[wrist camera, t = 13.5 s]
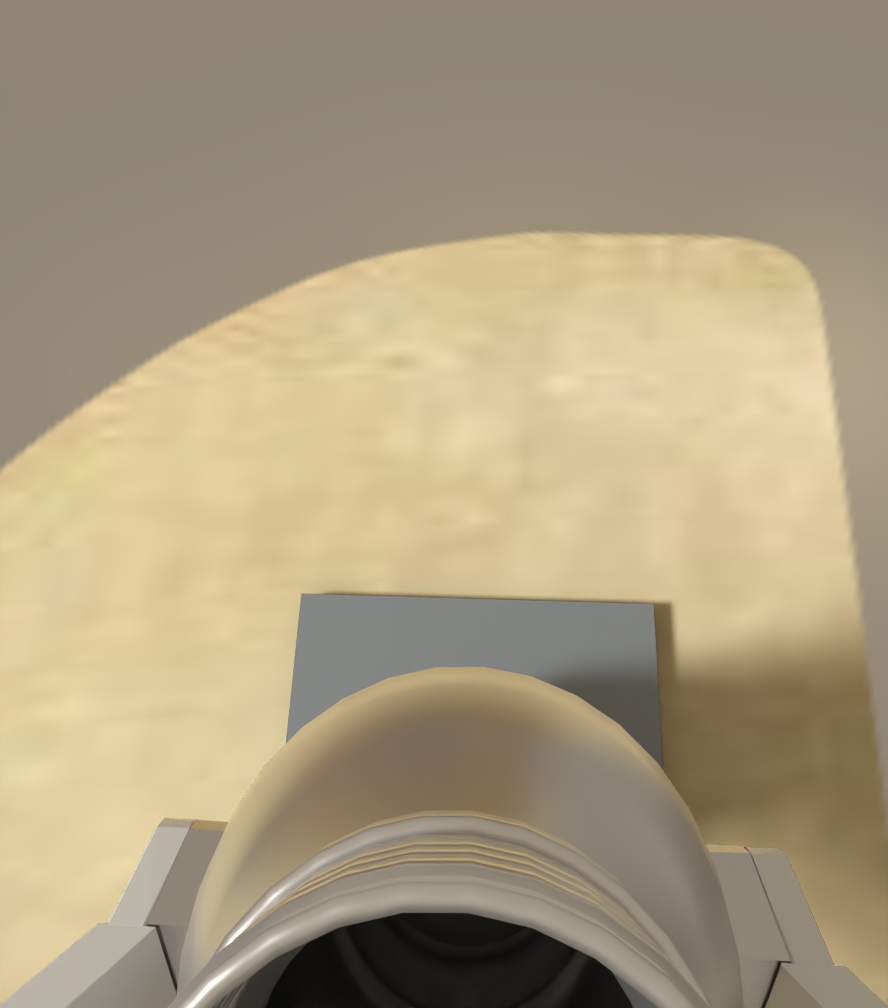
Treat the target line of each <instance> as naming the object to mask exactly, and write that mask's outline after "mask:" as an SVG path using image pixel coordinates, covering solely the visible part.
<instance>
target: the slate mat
mask: <svg viewBox="0 0 888 1008" xmlns="http://www.w3.org/2000/svg"><path fill="white" fill-rule="evenodd" d="M435 667H487V668H492V669H497V670H502V671H508V672H513V673H518V674H523V675H528V676H532V677H534V678H537V679H539V680H541V681H544V682H546V683H548V684H551V685H553V686H556V687H558V688H560V689H563V690H565V691H567V692H570V693H572V694H574V695H577V696H578V697H580V698H581V699H583V700H584V701H586V702H587V703H589V704H590V705H592V706H593V707H594V708H596V709H597V710H599V711H600V712H602V713H603V714H605V715H606V716H608V717H609V718H611V719H612V720H614V721H615V722H616V723H618V724H619V725H620V726H621V727H622V728H623V729H624V730H625V731H626V732H627V733H628V734H629V735H630V736H631V737H632V738H633V739H634V740H635V741H636V742H637V743H638V744H639V745H640V746H641V747H642V748H643V749H644V750H645V751H646V752H647V753H648V754H649V755H650V756H651V757H652V758H653V759H654V760H655V761H656V762H657V763H658V764H659V765H660V767H661V768H662V770H663V760H662V743H661V725H660V708H659V690H658V673H657V655H656V638H655V621H654V604H637V603H603V602H569V601H535V600H501V599H467V598H433V597H399V596H365V595H331V594H301V603H300V612H299V622H298V632H297V641H296V651H295V661H294V670H293V680H292V690H291V699H290V709H289V719H288V728H287V738H286V743H287V742H288V741H289V740H290V739H291V738H292V737H293V736H294V735H295V734H296V733H297V732H298V731H299V730H300V729H301V728H302V727H303V726H305V725H306V724H308V723H309V722H310V721H312V720H313V719H315V718H316V717H317V716H319V715H320V714H322V713H323V712H325V711H326V710H327V709H329V708H330V707H332V706H333V705H334V704H336V703H337V702H339V701H340V700H341V699H343V698H345V697H347V696H349V695H352V694H354V693H356V692H358V691H360V690H363V689H365V688H367V687H369V686H372V685H374V684H376V683H378V682H380V681H383V680H385V679H387V678H390V677H395V676H399V675H404V674H408V673H413V672H417V671H422V670H426V669H430V668H435Z"/></svg>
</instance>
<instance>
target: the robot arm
mask: <svg viewBox="0 0 888 1008" xmlns="http://www.w3.org/2000/svg"><path fill="white" fill-rule="evenodd" d="M227 824H228V822H220V821H205V820H193V819H174V818H164V820H163V821H162V822H161V823H160V824H159V825H158V826H157V827H156V828H155V830H154V832H153V834H152V836H151V838H150V840H149V842H148V844H147V846H146V848H145V850H144V852H143V854H142V856H141V858H140V860H139V862H138V864H137V866H136V868H135V870H134V872H133V874H132V876H131V878H130V880H129V882H128V884H127V886H126V888H125V890H124V892H123V894H122V896H121V898H120V900H119V902H118V904H117V906H116V908H115V910H114V912H113V914H112V916H111V918H110V920H109V922H108V923H98V924H96V925H95V926H94V927H93V928H92V929H90V930H89V931H88V932H87V933H86V934H84V935H83V936H82V937H81V938H80V939H78V940H77V941H76V942H75V943H74V944H72V945H71V946H70V947H69V948H68V949H66V950H65V951H64V952H63V953H62V954H60V955H59V956H58V957H57V958H56V959H54V960H53V961H52V962H51V963H50V964H48V965H47V966H46V967H45V968H44V969H42V970H41V971H40V972H39V973H38V974H36V975H35V976H34V977H33V978H32V979H30V980H29V981H28V982H27V983H26V984H24V985H23V986H22V987H21V988H20V989H18V990H17V991H16V992H15V993H14V994H12V995H11V996H10V997H9V998H8V999H6V1000H5V1001H4V1002H3V1003H2V1004H0V1008H167V1007H168V1006H169V1005H170V1004H171V1003H172V1002H173V1001H174V1000H175V998H176V996H177V987H178V978H179V969H180V959H181V952H182V948H183V945H184V941H185V937H186V934H187V930H188V926H189V923H190V919H191V915H192V912H193V908H194V904H195V901H196V897H197V894H198V890H199V888H200V885H201V883H202V881H203V878H204V876H205V873H206V871H207V868H208V866H209V864H210V861H211V859H212V857H213V855H214V853H215V850H216V848H217V846H218V844H219V842H220V840H221V837H222V835H223V833H224V831H225V829H226V826H227ZM706 845H707V847H708V849H709V852H710V854H711V856H712V858H713V860H714V863H715V865H716V868H717V872H718V876H719V879H720V883H721V887H722V890H723V894H724V898H725V902H726V905H727V909H728V913H729V916H730V920H731V924H732V928H733V932H734V936H735V941H736V945H737V949H738V954H739V962H740V972H741V982H742V992H743V1002H744V1008H888V1007H887V1006H886V1005H885V1004H884V1003H883V1002H882V1001H881V1000H880V999H879V998H878V997H877V996H876V995H875V994H874V993H873V992H872V991H871V990H870V989H869V988H868V987H867V986H865V985H864V984H863V983H862V982H861V981H860V980H859V979H858V978H857V977H856V976H855V975H854V974H853V973H852V972H851V971H850V970H849V969H848V968H847V967H843V966H835V965H834V963H833V961H832V958H831V956H830V954H829V951H828V949H827V947H826V945H825V942H824V940H823V938H822V935H821V933H820V931H819V928H818V926H817V924H816V921H815V919H814V917H813V915H812V912H811V910H810V908H809V905H808V903H807V901H806V898H805V896H804V894H803V892H802V889H801V887H800V885H799V882H798V880H797V878H796V875H795V873H794V871H793V869H792V866H791V864H790V862H789V859H788V857H787V855H786V854H785V853H784V852H783V851H782V850H781V849H779V848H762V847H742V846H738V845H708V844H706Z"/></svg>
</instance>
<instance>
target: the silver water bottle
mask: <svg viewBox="0 0 888 1008" xmlns="http://www.w3.org/2000/svg"><path fill="white" fill-rule="evenodd" d="M167 1008H744V1002H743V992H742V982H741V972H740V962H739V954H738V949H737V945H736V941H735V936H734V932H733V928H732V924H731V920H730V916H729V913H728V909H727V905H726V902H725V898H724V894H723V890H722V887H721V883H720V879H719V876H718V872H717V868H716V865H715V863H714V860H713V858H712V856H711V854H710V852H709V849H708V847H707V845H706V843H705V841H704V839H703V836H702V834H701V832H700V830H699V828H698V826H697V823H696V821H695V819H694V817H693V815H692V812H691V810H690V809H689V807H688V806H687V804H686V803H685V802H684V800H683V799H682V797H681V796H680V794H679V793H678V791H677V790H676V789H675V787H674V786H673V784H672V783H671V781H670V780H669V778H668V777H667V775H666V774H665V773H664V771H663V770H662V768H661V767H660V765H659V764H658V763H657V762H656V761H655V760H654V759H653V758H652V757H651V756H650V755H649V754H648V753H647V752H646V751H645V750H644V749H643V748H642V747H641V746H640V745H639V744H638V743H637V742H636V741H635V740H634V739H633V738H632V737H631V736H630V735H629V734H628V733H627V732H626V731H625V730H624V729H623V728H622V727H621V726H620V725H619V724H618V723H616V722H615V721H614V720H612V719H611V718H609V717H608V716H606V715H605V714H603V713H602V712H600V711H599V710H597V709H596V708H594V707H593V706H592V705H590V704H589V703H587V702H586V701H584V700H583V699H581V698H580V697H578V696H577V695H574V694H572V693H570V692H567V691H565V690H563V689H560V688H558V687H556V686H553V685H551V684H548V683H546V682H544V681H541V680H539V679H537V678H534V677H532V676H528V675H523V674H518V673H513V672H508V671H502V670H497V669H492V668H487V667H435V668H430V669H426V670H422V671H417V672H413V673H408V674H404V675H399V676H395V677H390V678H387V679H385V680H383V681H380V682H378V683H376V684H374V685H372V686H369V687H367V688H365V689H363V690H360V691H358V692H356V693H354V694H352V695H349V696H347V697H345V698H343V699H341V700H340V701H339V702H337V703H336V704H334V705H333V706H332V707H330V708H329V709H327V710H326V711H325V712H323V713H322V714H320V715H319V716H317V717H316V718H315V719H313V720H312V721H310V722H309V723H308V724H306V725H305V726H303V727H302V728H301V729H300V730H299V731H298V732H297V733H296V734H295V735H294V736H293V737H292V738H291V739H290V740H289V741H288V742H287V743H286V744H285V745H284V746H283V747H282V748H281V749H280V750H279V752H278V753H277V754H276V755H275V756H274V757H273V758H272V759H271V760H270V761H269V762H268V763H267V764H266V765H265V766H264V767H263V769H262V770H261V772H260V773H259V775H258V776H257V778H256V779H255V781H254V782H253V784H252V785H251V786H250V788H249V789H248V791H247V792H246V794H245V795H244V797H243V798H242V800H241V801H240V803H239V804H238V806H237V807H236V809H235V810H234V812H233V813H232V815H231V818H230V820H229V822H228V824H227V826H226V829H225V831H224V833H223V835H222V837H221V840H220V842H219V844H218V846H217V848H216V850H215V853H214V855H213V857H212V859H211V861H210V864H209V866H208V868H207V871H206V873H205V876H204V878H203V881H202V883H201V885H200V888H199V890H198V894H197V897H196V901H195V904H194V908H193V912H192V915H191V919H190V923H189V926H188V930H187V934H186V937H185V941H184V945H183V948H182V952H181V959H180V969H179V978H178V987H177V996H176V998H175V1000H174V1001H173V1002H172V1003H171V1004H170V1005H169V1006H168V1007H167Z"/></svg>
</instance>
